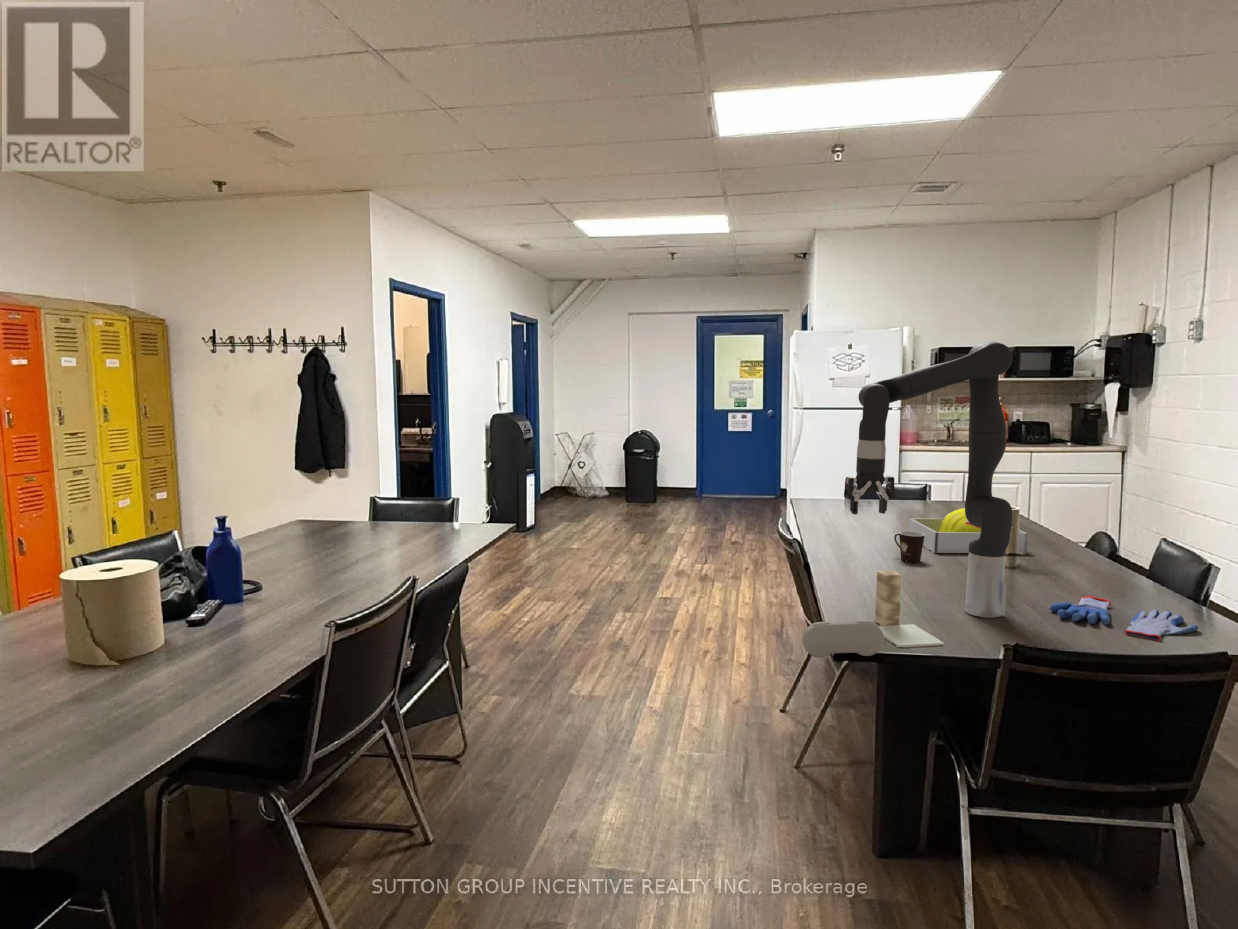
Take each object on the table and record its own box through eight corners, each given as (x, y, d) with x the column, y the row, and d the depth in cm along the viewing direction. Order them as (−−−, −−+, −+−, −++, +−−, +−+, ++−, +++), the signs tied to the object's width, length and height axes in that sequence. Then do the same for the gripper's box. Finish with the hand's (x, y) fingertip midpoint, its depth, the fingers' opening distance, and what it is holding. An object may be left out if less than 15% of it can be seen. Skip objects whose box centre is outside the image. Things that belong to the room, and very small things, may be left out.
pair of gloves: (1204, 626, 199) (1205, 613, 198) (1183, 650, 181) (1184, 635, 181) (1070, 600, 222) (1071, 588, 222) (1041, 619, 205) (1042, 606, 204)
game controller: (879, 652, 178) (880, 619, 177) (883, 656, 176) (885, 622, 175) (800, 655, 177) (801, 621, 176) (804, 658, 174) (805, 624, 174)
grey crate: (991, 538, 304) (992, 519, 303) (1026, 554, 277) (1027, 533, 276) (907, 537, 306) (908, 518, 305) (934, 553, 278) (935, 532, 277)
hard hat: (921, 539, 303) (923, 503, 301) (989, 541, 299) (991, 505, 297) (934, 550, 283) (936, 512, 281) (1007, 553, 279) (1009, 514, 277)
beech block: (890, 620, 201) (892, 570, 200) (899, 626, 197) (901, 575, 195) (875, 621, 201) (877, 571, 199) (883, 627, 196) (885, 575, 195)
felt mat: (871, 628, 195) (871, 626, 195) (913, 626, 197) (913, 624, 196) (898, 647, 181) (898, 645, 181) (943, 645, 183) (943, 643, 183)
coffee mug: (927, 564, 262) (928, 536, 261) (902, 563, 263) (904, 536, 261) (914, 556, 274) (916, 529, 273) (891, 555, 274) (892, 529, 273)
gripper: (854, 458, 200) (852, 517, 202) (901, 457, 203) (898, 515, 205) (840, 455, 207) (838, 512, 209) (886, 454, 211) (883, 510, 212)
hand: (868, 513), depth 207 cm, fingers open, 8 cm apart
